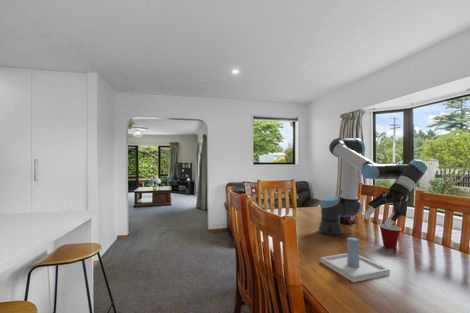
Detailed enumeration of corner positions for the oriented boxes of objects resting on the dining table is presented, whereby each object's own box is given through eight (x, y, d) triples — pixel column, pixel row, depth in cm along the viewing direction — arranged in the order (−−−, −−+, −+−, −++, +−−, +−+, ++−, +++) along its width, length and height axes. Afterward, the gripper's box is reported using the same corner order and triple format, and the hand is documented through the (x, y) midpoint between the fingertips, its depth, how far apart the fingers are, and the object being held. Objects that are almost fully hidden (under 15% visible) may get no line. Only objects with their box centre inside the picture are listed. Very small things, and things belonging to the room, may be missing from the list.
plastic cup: (405, 251, 126) (405, 229, 126) (383, 250, 128) (383, 228, 128) (396, 244, 137) (396, 224, 137) (376, 243, 139) (375, 223, 139)
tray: (320, 261, 114) (320, 257, 114) (352, 256, 120) (352, 252, 120) (353, 282, 95) (353, 276, 95) (389, 274, 101) (389, 269, 101)
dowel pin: (344, 264, 109) (344, 238, 109) (353, 262, 110) (352, 237, 111) (353, 268, 104) (353, 241, 104) (362, 267, 106) (361, 240, 106)
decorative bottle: (357, 226, 173) (357, 193, 173) (327, 223, 183) (327, 191, 184) (358, 220, 193) (358, 189, 193) (331, 217, 203) (330, 188, 203)
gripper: (432, 196, 100) (403, 235, 98) (386, 189, 125) (362, 219, 123) (421, 185, 100) (391, 223, 97) (376, 180, 124) (352, 210, 122)
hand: (375, 221), depth 110 cm, fingers open, 13 cm apart
